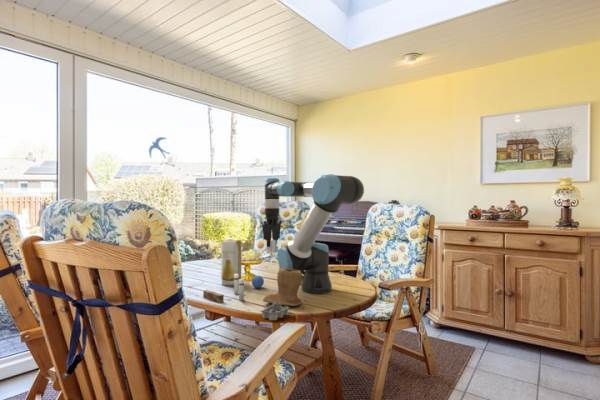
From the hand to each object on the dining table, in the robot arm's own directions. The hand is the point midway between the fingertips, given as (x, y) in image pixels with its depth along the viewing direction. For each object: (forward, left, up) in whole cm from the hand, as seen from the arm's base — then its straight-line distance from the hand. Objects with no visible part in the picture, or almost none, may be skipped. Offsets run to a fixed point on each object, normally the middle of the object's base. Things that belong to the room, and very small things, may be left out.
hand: (271, 252), depth 174 cm
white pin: (0, +24, -16) cm, 29 cm away
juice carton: (+16, +14, -17) cm, 27 cm away
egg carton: (-34, +32, -17) cm, 50 cm away
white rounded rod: (-10, +29, -16) cm, 34 cm away
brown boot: (-27, +19, -17) cm, 37 cm away
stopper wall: (0, +36, -16) cm, 40 cm away
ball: (0, +10, -13) cm, 16 cm away
